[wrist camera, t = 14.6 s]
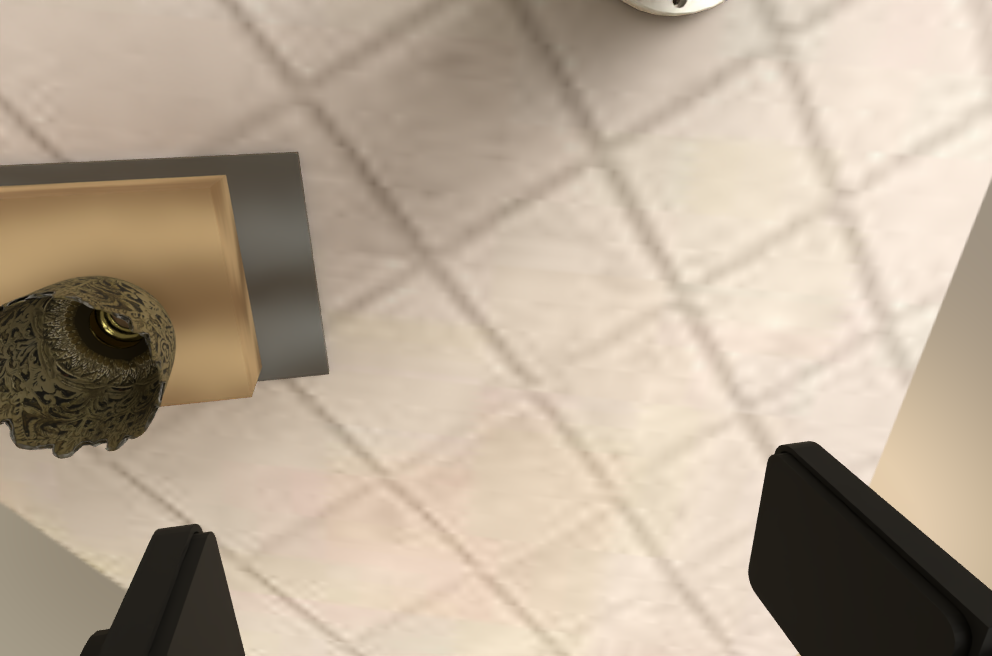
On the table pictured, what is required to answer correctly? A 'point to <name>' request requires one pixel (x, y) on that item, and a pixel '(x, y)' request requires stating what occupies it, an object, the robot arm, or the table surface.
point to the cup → (83, 364)
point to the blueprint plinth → (259, 241)
